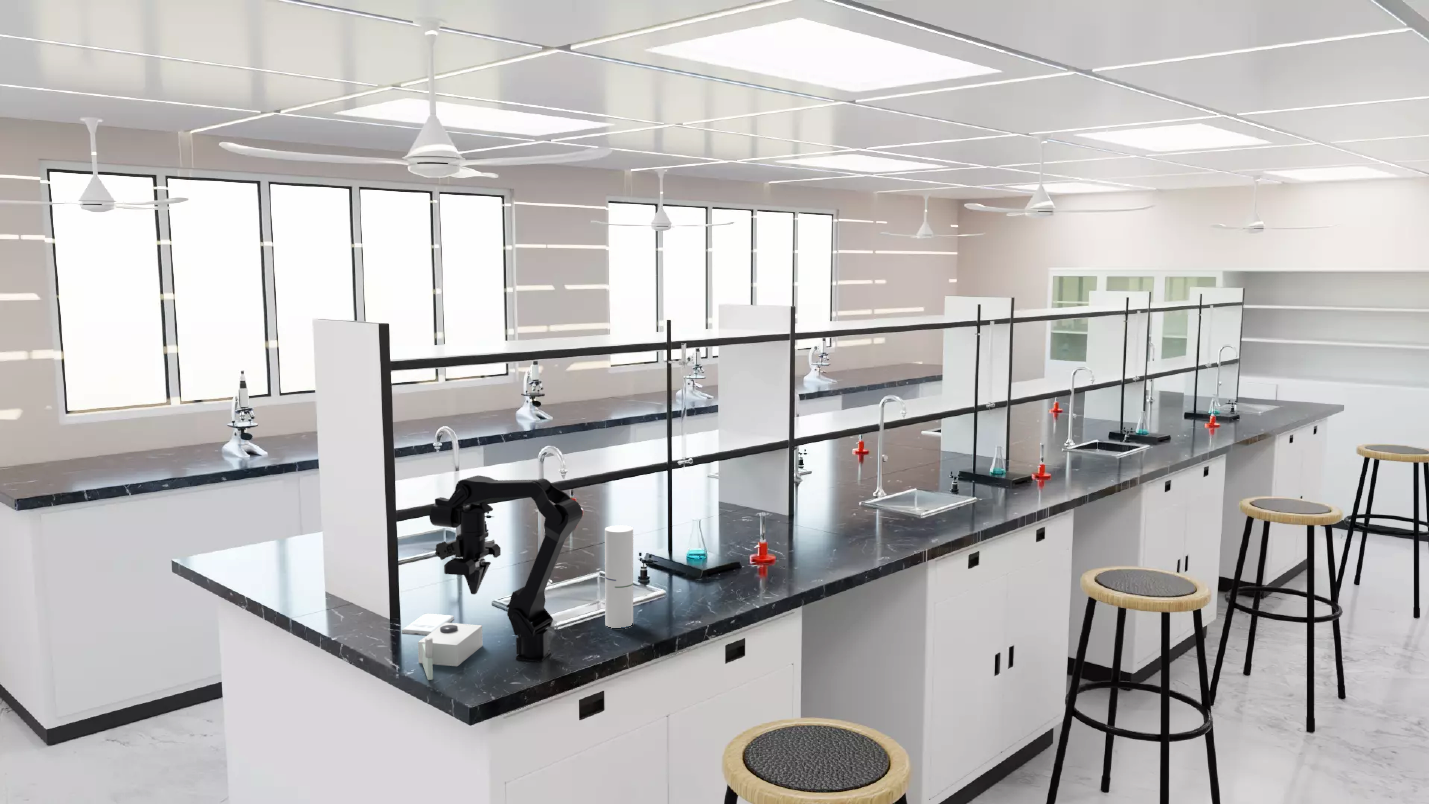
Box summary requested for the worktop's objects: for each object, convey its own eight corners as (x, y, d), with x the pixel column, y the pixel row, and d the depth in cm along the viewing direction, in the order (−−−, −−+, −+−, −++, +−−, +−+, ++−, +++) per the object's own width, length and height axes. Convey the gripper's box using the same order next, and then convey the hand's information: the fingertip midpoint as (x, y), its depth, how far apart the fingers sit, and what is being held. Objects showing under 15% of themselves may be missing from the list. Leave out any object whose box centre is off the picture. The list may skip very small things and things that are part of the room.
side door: (434, 679, 220) (433, 640, 219) (426, 680, 219) (425, 641, 218) (428, 663, 229) (427, 626, 228) (421, 664, 228) (420, 626, 227)
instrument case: (482, 645, 241) (482, 623, 241) (457, 666, 228) (456, 642, 227) (445, 642, 243) (445, 620, 242) (418, 663, 230) (418, 639, 229)
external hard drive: (454, 621, 260) (432, 637, 248) (424, 619, 262) (401, 635, 250) (454, 615, 260) (431, 631, 248) (424, 613, 262) (401, 628, 250)
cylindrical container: (613, 618, 262) (612, 524, 259) (637, 621, 259) (637, 527, 256) (600, 626, 255) (599, 530, 252) (625, 630, 253) (625, 533, 250)
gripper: (458, 519, 248) (459, 580, 250) (422, 537, 230) (423, 603, 232) (500, 521, 246) (502, 583, 248) (467, 540, 228) (468, 606, 229)
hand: (474, 593), depth 239 cm, fingers closed
